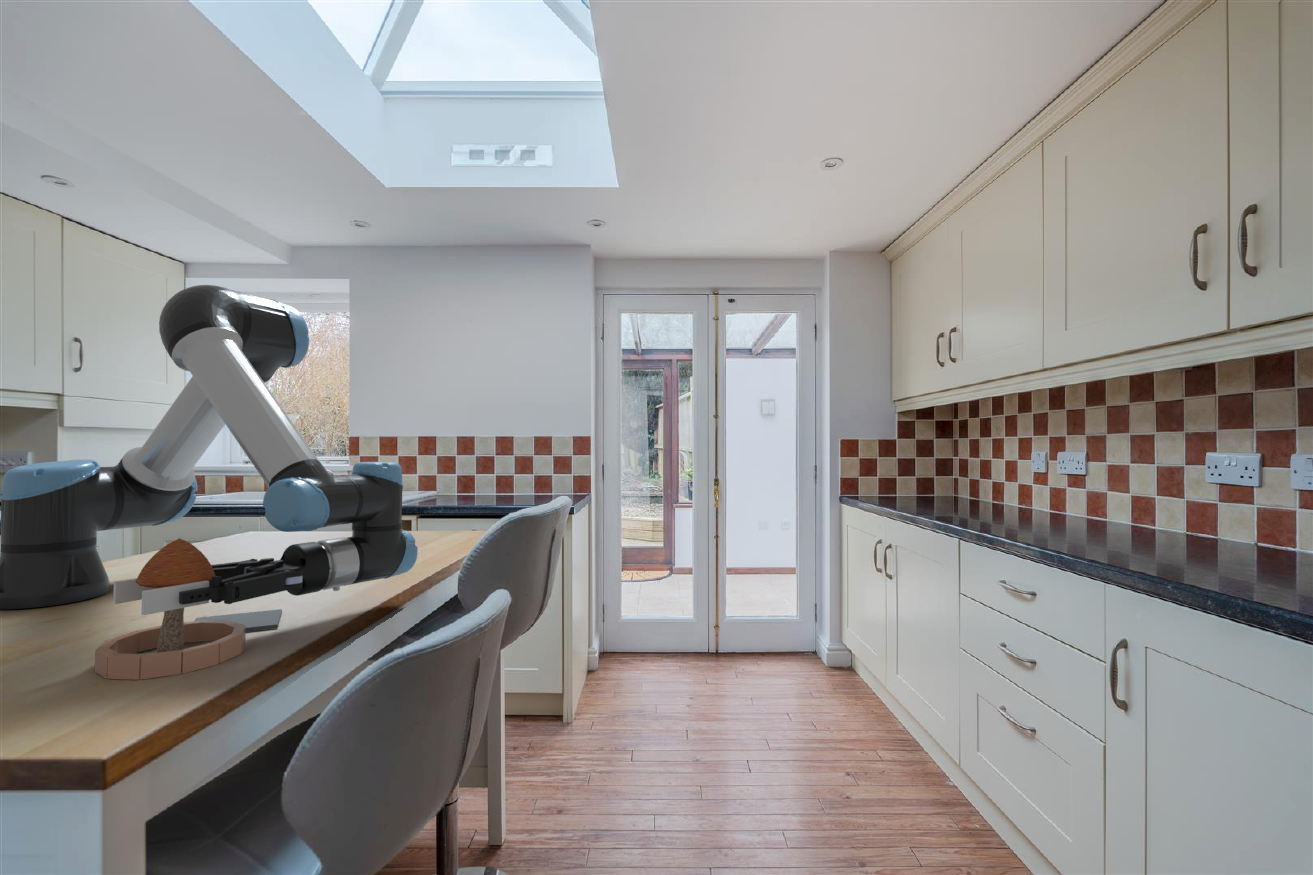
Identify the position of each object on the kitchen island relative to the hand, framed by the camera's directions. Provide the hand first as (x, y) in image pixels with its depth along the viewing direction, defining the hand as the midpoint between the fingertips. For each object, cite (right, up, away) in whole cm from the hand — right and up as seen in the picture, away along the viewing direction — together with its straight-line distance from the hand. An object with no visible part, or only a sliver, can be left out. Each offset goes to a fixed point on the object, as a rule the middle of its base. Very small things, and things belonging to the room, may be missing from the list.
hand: (128, 597), depth 72 cm
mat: (+1, -9, +17) cm, 19 cm away
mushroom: (+2, -9, +4) cm, 10 cm away
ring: (+2, -9, +4) cm, 10 cm away
